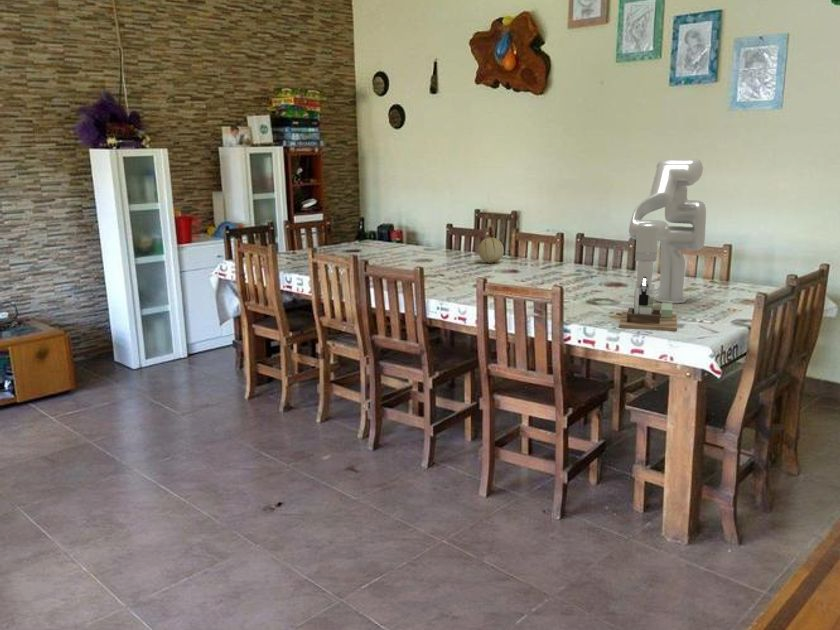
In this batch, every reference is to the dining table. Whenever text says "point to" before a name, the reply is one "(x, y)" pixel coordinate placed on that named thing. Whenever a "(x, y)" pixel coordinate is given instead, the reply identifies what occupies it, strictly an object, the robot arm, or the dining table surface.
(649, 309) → the syrup box
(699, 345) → the dining table surface
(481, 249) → the cantaloupe
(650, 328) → the socket board
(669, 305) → the bar
